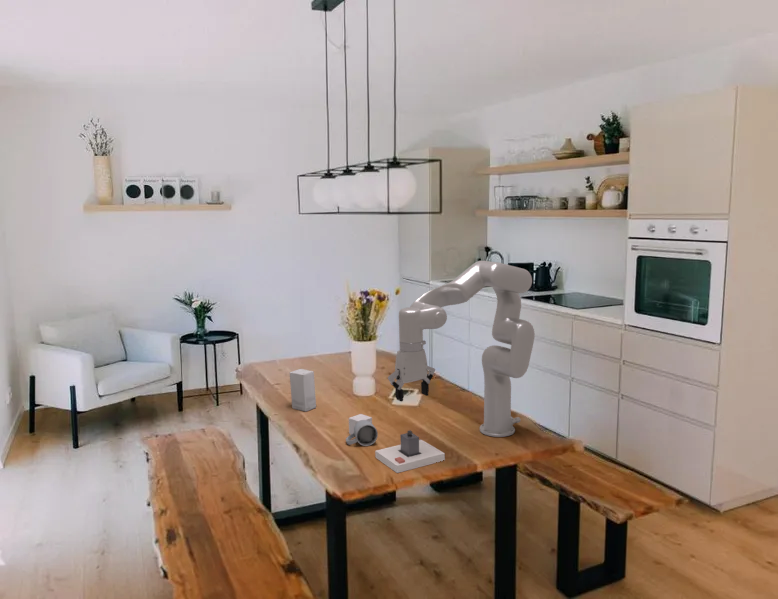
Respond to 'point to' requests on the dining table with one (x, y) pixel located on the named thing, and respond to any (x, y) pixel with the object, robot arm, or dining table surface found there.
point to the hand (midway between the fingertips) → (412, 397)
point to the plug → (409, 444)
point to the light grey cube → (355, 419)
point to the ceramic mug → (363, 433)
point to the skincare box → (303, 390)
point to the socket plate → (404, 463)
